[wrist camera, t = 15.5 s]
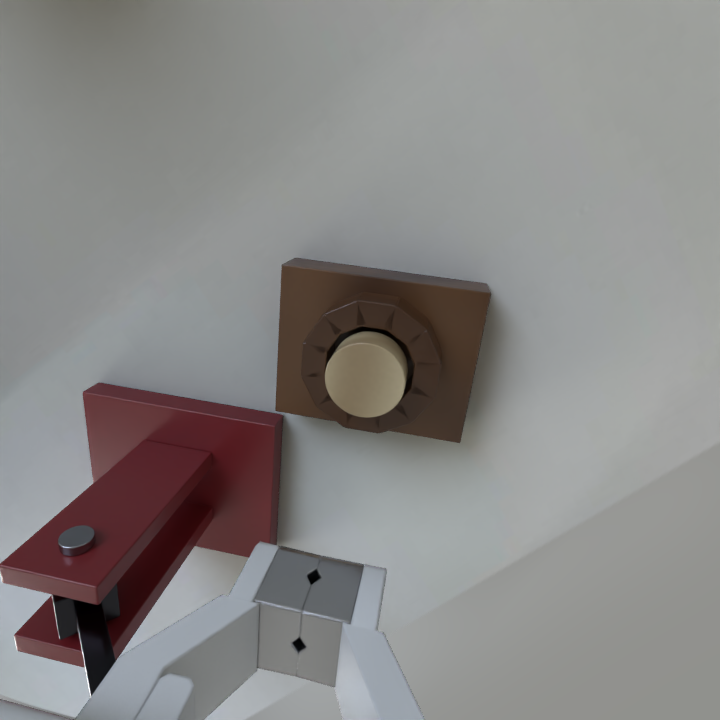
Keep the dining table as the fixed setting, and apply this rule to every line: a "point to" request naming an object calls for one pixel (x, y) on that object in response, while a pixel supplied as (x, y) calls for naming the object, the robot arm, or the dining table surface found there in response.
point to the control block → (389, 317)
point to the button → (367, 374)
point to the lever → (89, 632)
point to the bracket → (149, 508)
